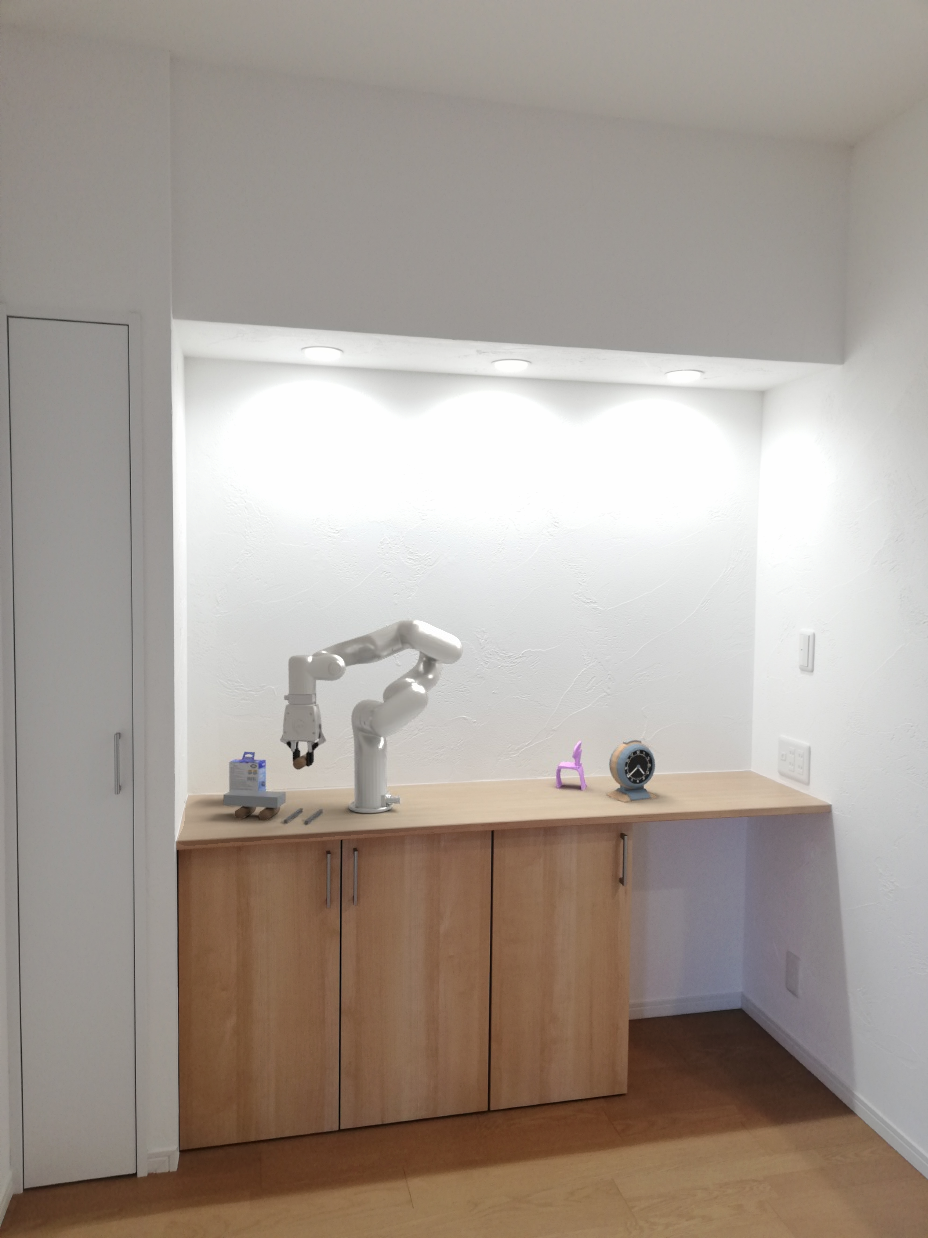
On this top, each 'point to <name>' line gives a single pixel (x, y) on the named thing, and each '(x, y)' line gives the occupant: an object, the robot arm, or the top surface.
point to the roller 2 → (268, 813)
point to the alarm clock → (632, 771)
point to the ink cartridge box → (247, 774)
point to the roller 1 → (244, 812)
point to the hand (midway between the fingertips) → (303, 764)
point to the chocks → (301, 812)
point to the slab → (254, 798)
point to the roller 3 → (300, 762)
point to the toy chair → (572, 767)
